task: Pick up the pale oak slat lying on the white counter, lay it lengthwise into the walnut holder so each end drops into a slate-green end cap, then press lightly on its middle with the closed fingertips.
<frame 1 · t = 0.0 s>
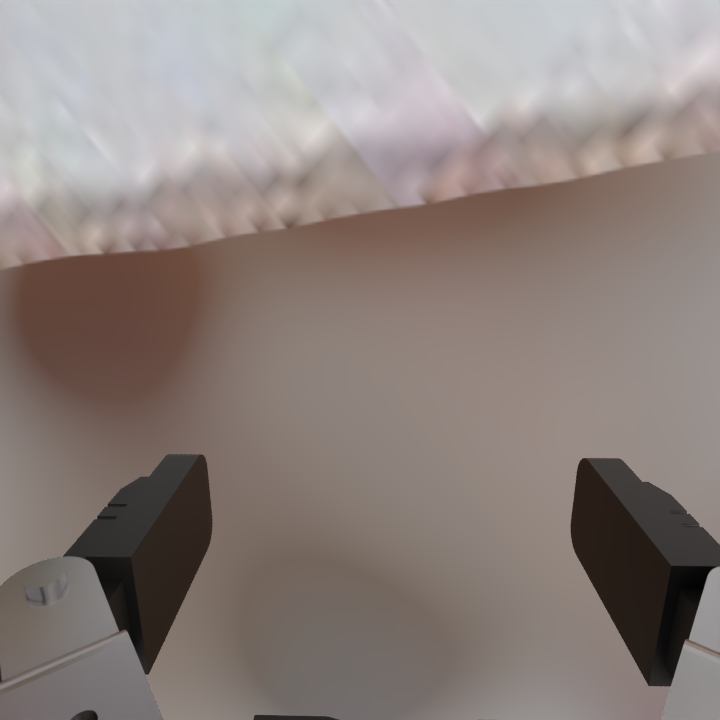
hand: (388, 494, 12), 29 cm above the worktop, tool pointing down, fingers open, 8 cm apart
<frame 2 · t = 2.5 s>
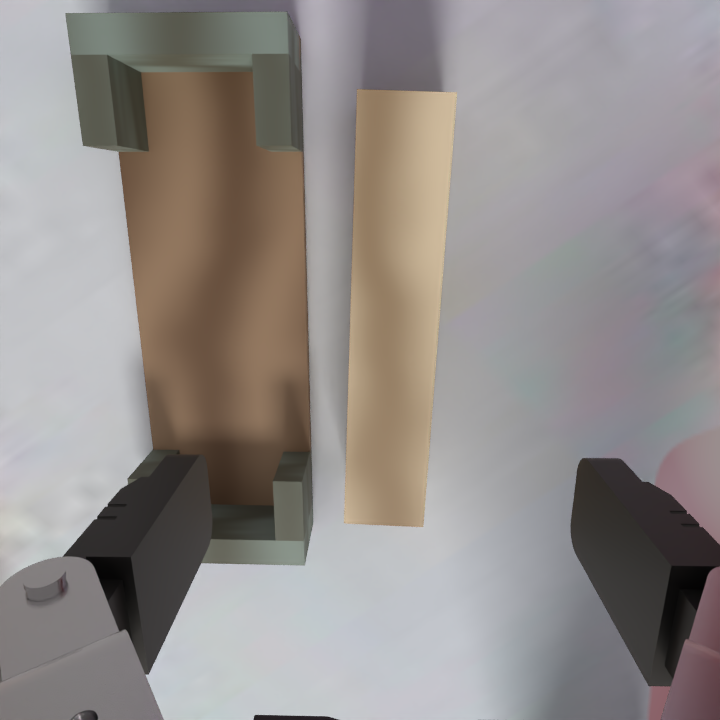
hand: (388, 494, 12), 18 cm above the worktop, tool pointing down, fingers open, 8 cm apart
slat: (391, 310, 30), on the worktop
holder: (224, 310, 30), on the worktop
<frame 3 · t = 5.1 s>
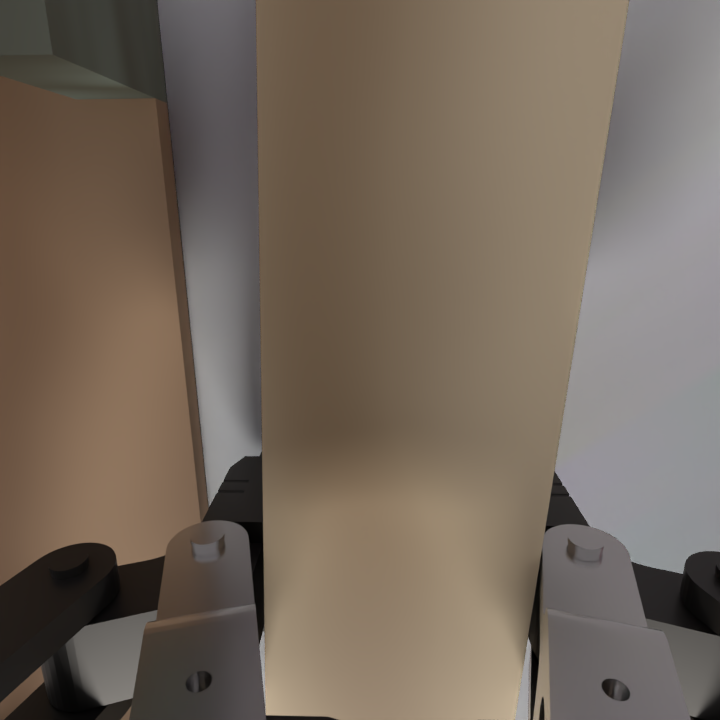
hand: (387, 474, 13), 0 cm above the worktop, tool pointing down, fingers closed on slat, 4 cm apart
slat: (388, 467, 13), on the worktop, touching gripper
holder: (20, 466, 13), on the worktop
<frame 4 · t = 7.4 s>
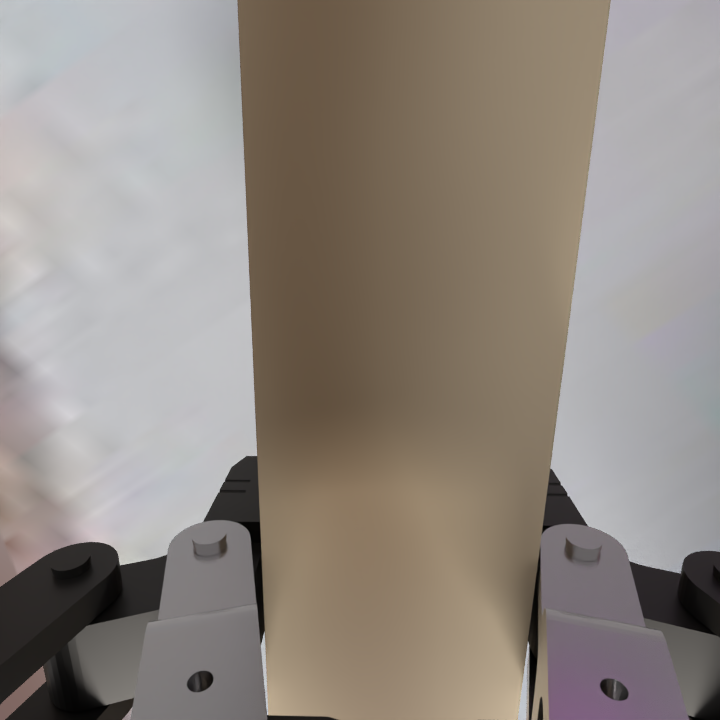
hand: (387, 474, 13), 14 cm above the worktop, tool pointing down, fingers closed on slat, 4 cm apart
slat: (388, 464, 13), point 13 cm above the worktop, touching gripper
when the fingers open (2 cm above the worktop, at t = 9.7 s): slat drops 1 cm, resting on holder.
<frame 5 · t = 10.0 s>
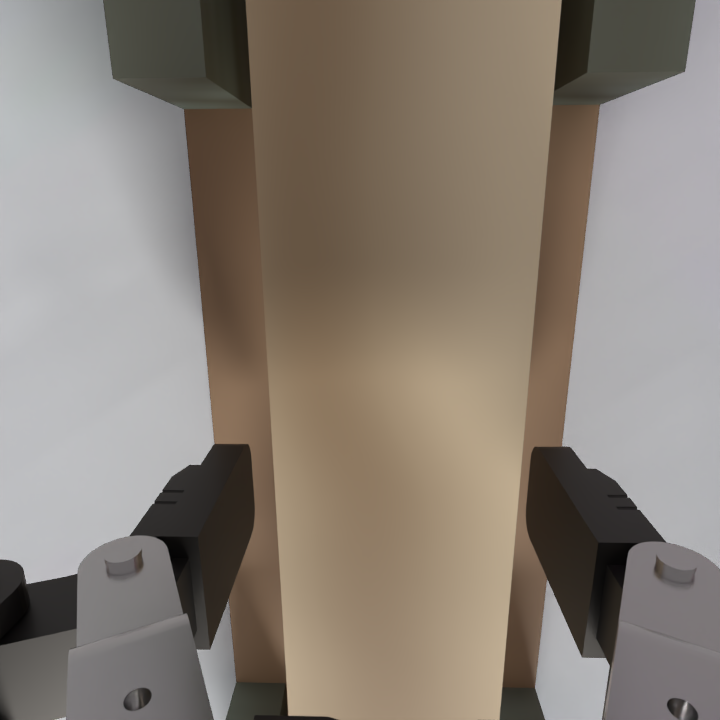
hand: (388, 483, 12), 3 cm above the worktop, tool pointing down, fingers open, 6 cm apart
slat: (388, 442, 14), point 1 cm above the worktop, touching holder
holder: (386, 433, 15), on the worktop
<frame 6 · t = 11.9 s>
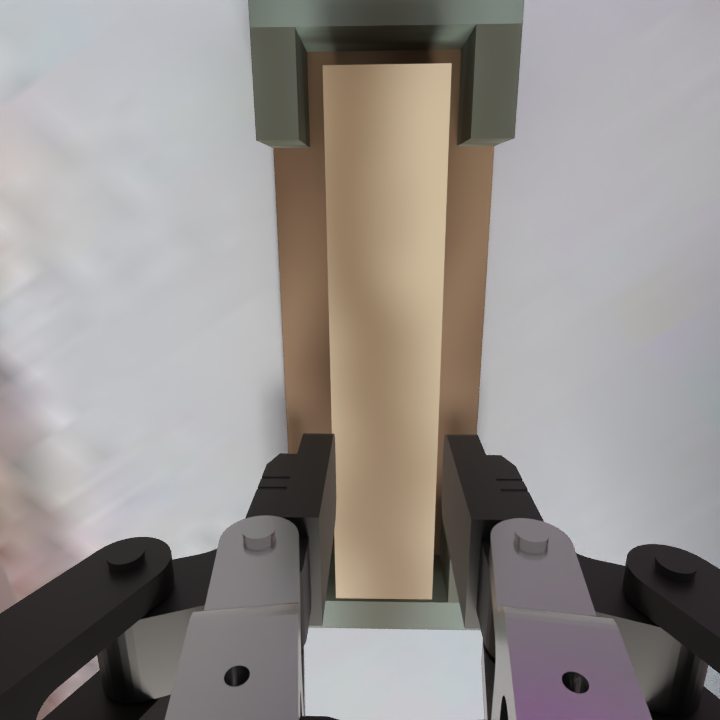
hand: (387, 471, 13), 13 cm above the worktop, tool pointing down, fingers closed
slat: (383, 336, 25), point 1 cm above the worktop, touching holder
holder: (382, 333, 25), on the worktop
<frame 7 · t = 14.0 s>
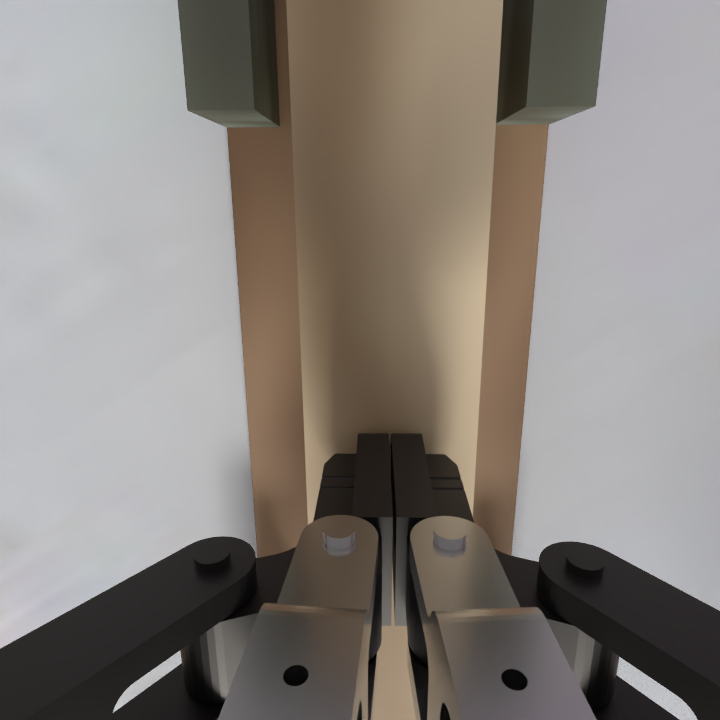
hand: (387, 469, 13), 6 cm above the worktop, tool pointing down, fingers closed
slat: (386, 393, 18), point 1 cm above the worktop, touching holder
holder: (384, 387, 18), on the worktop
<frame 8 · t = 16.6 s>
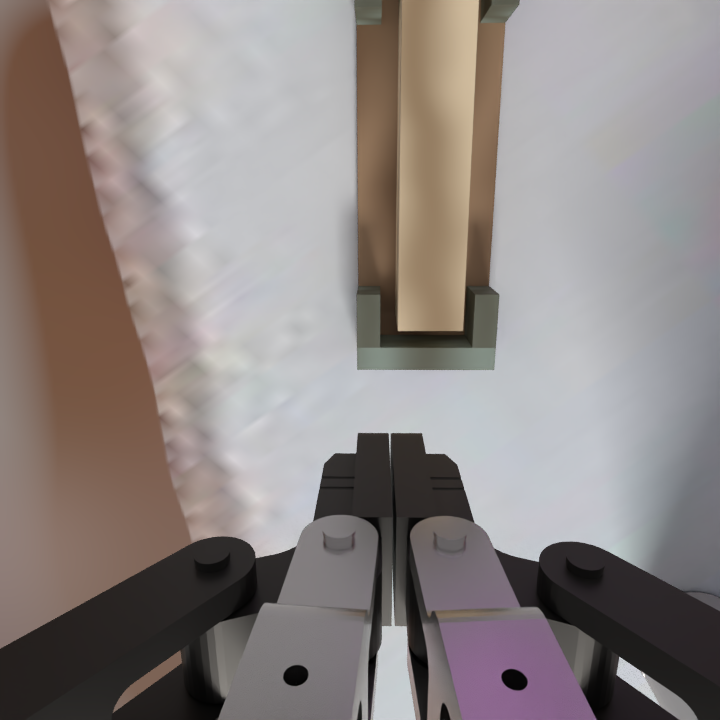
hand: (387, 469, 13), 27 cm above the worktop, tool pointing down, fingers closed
slat: (427, 162, 36), point 1 cm above the worktop, touching holder
holder: (425, 163, 36), on the worktop
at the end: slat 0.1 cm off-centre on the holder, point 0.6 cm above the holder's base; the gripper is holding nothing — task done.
